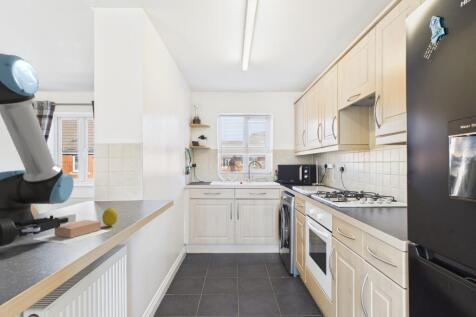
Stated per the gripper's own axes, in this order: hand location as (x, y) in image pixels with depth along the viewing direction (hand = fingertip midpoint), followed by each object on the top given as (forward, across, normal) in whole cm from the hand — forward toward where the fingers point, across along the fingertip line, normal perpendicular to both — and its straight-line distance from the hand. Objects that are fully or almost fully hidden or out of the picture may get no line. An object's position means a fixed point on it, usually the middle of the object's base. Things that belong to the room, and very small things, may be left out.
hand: (74, 217), depth 91 cm
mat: (0, 0, -6) cm, 6 cm away
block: (-4, 0, -4) cm, 6 cm away
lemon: (+14, +2, -7) cm, 16 cm away
